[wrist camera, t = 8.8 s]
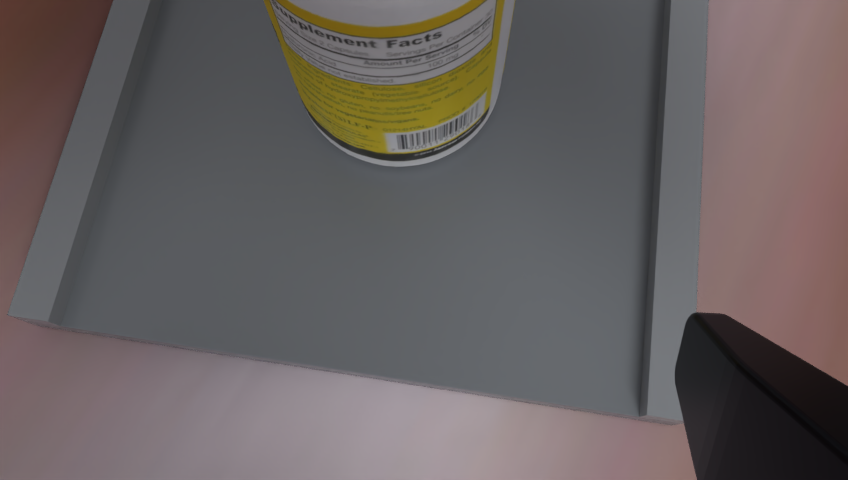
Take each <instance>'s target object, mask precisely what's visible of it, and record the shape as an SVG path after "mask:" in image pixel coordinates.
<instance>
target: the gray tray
mask: <svg viewBox="0 0 848 480" xmlns="http://www.w3.org/2000/svg"><path fill="white" fill-rule="evenodd" d="M708 3H709V0H515V6H514V12H513V18H512V24H511V29H510V36H509V42H508V48H507V53H506V59H505V67H504V71H503V76H502V81H501V86H500V90H499V94H498V98H497V100H496V103H495V106H494V108H493V110H492V112H491V114H490V116H489V118H488V120H487V121H486V122H485V124H484V125H483V127H482V128H481V129H480V130H479V132H478V133H477V134H476V135H475V136H474V137H473V138H472V139H471V140H470V141H468V142H467V143H466V144H465V145H464V146H462V147H461V148H459V149H458V150H456V151H455V152H453V153H451V154H449V155H447V156H445V157H443V158H440V159H438V160H435V161H432V162H429V163H425V164H421V165H414V166H404V167H393V166H383V165H378V164H373V163H370V162H366V161H363V160H361V159H358V158H356V157H353V156H351V155H349V154H347V153H346V152H344V151H342V150H341V149H339V148H338V147H336V146H335V145H334V144H332V143H331V142H330V141H329V140H328V139H327V138H326V137H325V136H324V135H323V134H322V133H321V132H320V131H319V130H318V128H317V127H316V126H315V124H314V123H313V121H312V120H311V118H310V117H309V115H308V113H307V111H306V109H305V107H304V104H303V102H302V100H301V97H300V95H299V93H298V91H297V88H296V85H295V83H294V80H293V77H292V74H291V72H290V69H289V66H288V64H287V61H286V58H285V56H284V53H283V51H282V48H281V45H280V43H279V40H278V38H277V35H276V33H275V30H274V28H273V25H272V22H271V19H270V16H269V14H268V11H267V8H266V6H265V3H264V0H113V3H112V6H111V9H110V12H109V15H108V18H107V21H106V24H105V27H104V30H103V33H102V35H101V38H100V41H99V44H98V47H97V50H96V53H95V56H94V59H93V62H92V65H91V68H90V71H89V74H88V77H87V80H86V83H85V86H84V89H83V92H82V95H81V98H80V101H79V104H78V107H77V110H76V113H75V116H74V119H73V121H72V124H71V127H70V130H69V133H68V136H67V139H66V142H65V145H64V148H63V151H62V154H61V157H60V160H59V163H58V166H57V169H56V172H55V175H54V178H53V181H52V184H51V187H50V190H49V193H48V196H47V199H46V202H45V204H44V207H43V210H42V213H41V216H40V219H39V222H38V225H37V228H36V231H35V234H34V237H33V240H32V243H31V246H30V249H29V252H28V255H27V258H26V261H25V264H24V267H23V270H22V273H21V276H20V279H19V282H18V285H17V287H16V290H15V293H14V296H13V299H12V302H11V305H10V308H9V311H8V314H7V315H8V316H11V317H14V318H17V319H20V320H23V321H25V322H28V323H31V324H34V325H37V326H41V327H48V328H54V329H61V330H67V331H73V332H80V333H86V334H92V335H99V336H105V337H111V338H118V339H124V340H131V341H137V342H143V343H150V344H156V345H162V346H169V347H175V348H182V349H188V350H194V351H201V352H207V353H213V354H220V355H226V356H233V357H239V358H245V359H252V360H258V361H264V362H271V363H277V364H284V365H290V366H296V367H303V368H309V369H315V370H322V371H328V372H335V373H341V374H347V375H354V376H360V377H366V378H373V379H379V380H386V381H392V382H398V383H405V384H411V385H417V386H424V387H430V388H437V389H443V390H449V391H456V392H462V393H468V394H475V395H481V396H488V397H494V398H500V399H507V400H513V401H519V402H526V403H532V404H539V405H545V406H551V407H558V408H564V409H570V410H577V411H583V412H590V413H596V414H602V415H609V416H615V417H621V418H628V419H634V420H641V421H647V422H653V423H660V424H666V425H677V424H683V423H684V421H683V417H682V412H681V408H680V403H679V399H678V395H677V390H676V386H675V365H676V361H677V357H678V353H679V348H680V344H681V340H682V336H683V331H684V327H685V323H686V321H687V319H688V317H689V316H690V315H691V314H693V313H696V305H697V280H698V255H699V230H700V205H701V179H702V154H703V129H704V104H705V78H706V53H707V28H708Z"/></svg>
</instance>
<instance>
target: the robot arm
mask: <svg viewBox="0 0 848 480" xmlns="http://www.w3.org/2000/svg"><path fill="white" fill-rule="evenodd" d="M675 386H676V390H677V395H678V399H679V403H680V408H681V412H682V417H683V421H684V425H685V430H686V434H687V438H688V443H689V447H690V452H691V456H692V460H693V465H694V469H695V473H696V477H697V480H848V386H847V385H845V384H843V383H842V382H840V381H838V380H836V379H835V378H833V377H831V376H830V375H828V374H826V373H825V372H823V371H821V370H819V369H818V368H816V367H814V366H813V365H811V364H809V363H807V362H806V361H804V360H802V359H801V358H799V357H797V356H796V355H794V354H792V353H790V352H789V351H787V350H785V349H784V348H782V347H780V346H778V345H777V344H775V343H773V342H772V341H770V340H768V339H767V338H765V337H763V336H761V335H760V334H758V333H756V332H755V331H753V330H751V329H750V328H748V327H746V326H744V325H743V324H741V323H739V322H738V321H736V320H734V319H732V318H731V317H729V316H727V315H725V314H720V313H699V312H697V313H693V314H691V315H690V316H689V317H688V319H687V321H686V323H685V327H684V331H683V336H682V340H681V344H680V348H679V353H678V357H677V361H676V365H675Z"/></svg>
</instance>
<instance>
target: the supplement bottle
mask: <svg viewBox="0 0 848 480" xmlns="http://www.w3.org/2000/svg"><path fill="white" fill-rule="evenodd" d="M264 3H265V6H266V8H267V11H268V14H269V16H270V19H271V22H272V25H273V28H274V30H275V33H276V35H277V38H278V40H279V43H280V45H281V48H282V51H283V53H284V56H285V58H286V61H287V64H288V66H289V69H290V72H291V74H292V77H293V80H294V83H295V85H296V88H297V91H298V93H299V95H300V97H301V100H302V102H303V104H304V107H305V109H306V111H307V113H308V115H309V117H310V118H311V120H312V121H313V123H314V124H315V126H316V127H317V128H318V130H319V131H320V132H321V133H322V134H323V135H324V136H325V137H326V138H327V139H328V140H329V141H330V142H331V143H332V144H334V145H335V146H336V147H338V148H339V149H341V150H342V151H344V152H346V153H347V154H349V155H351V156H353V157H356V158H358V159H361V160H363V161H366V162H370V163H373V164H378V165H383V166H393V167H404V166H414V165H421V164H425V163H429V162H432V161H435V160H438V159H440V158H443V157H445V156H447V155H449V154H451V153H453V152H455V151H456V150H458V149H459V148H461V147H462V146H464V145H465V144H466V143H467V142H468V141H470V140H471V139H472V138H473V137H474V136H475V135H476V134H477V133H478V132H479V130H480V129H481V128H482V127H483V125H484V124H485V122H486V121H487V120H488V118H489V116H490V114H491V112H492V110H493V108H494V106H495V103H496V100H497V98H498V94H499V90H500V86H501V81H502V76H503V71H504V67H505V59H506V53H507V48H508V42H509V36H510V29H511V24H512V18H513V12H514V6H515V0H264Z"/></svg>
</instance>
